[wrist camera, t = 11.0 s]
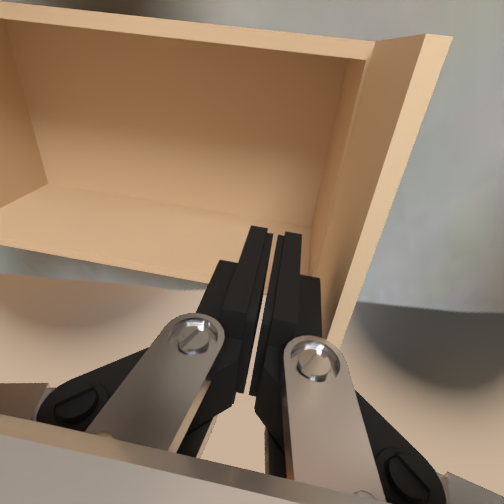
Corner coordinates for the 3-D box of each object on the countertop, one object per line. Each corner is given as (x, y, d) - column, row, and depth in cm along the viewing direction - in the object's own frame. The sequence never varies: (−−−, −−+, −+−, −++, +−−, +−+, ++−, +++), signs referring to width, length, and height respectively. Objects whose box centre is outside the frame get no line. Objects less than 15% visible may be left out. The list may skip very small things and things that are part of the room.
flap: (291, 446, 12) (302, 449, 12) (425, 34, 5) (453, 36, 5) (307, 306, 19) (314, 308, 19) (375, 41, 12) (386, 43, 12)
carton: (360, 44, 19) (387, 42, 12) (316, 233, 27) (315, 306, 19) (-2, 4, 22) (-171, -18, 14) (49, 188, 29) (-46, 238, 21)
